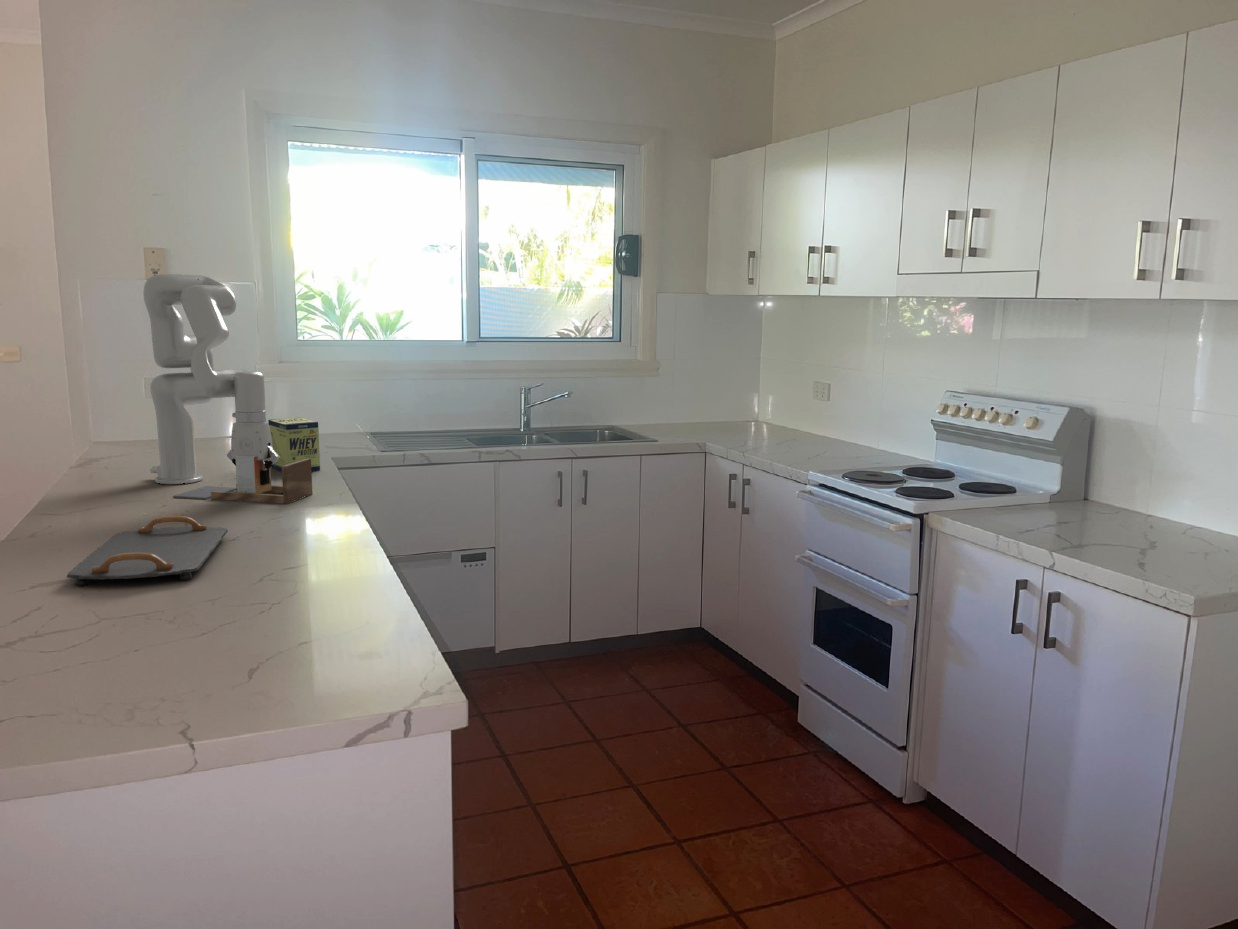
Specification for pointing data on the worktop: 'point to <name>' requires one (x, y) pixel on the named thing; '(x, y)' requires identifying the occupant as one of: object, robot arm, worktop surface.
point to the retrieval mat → (203, 492)
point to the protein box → (295, 441)
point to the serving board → (151, 552)
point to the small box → (250, 475)
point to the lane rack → (293, 488)
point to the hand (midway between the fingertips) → (254, 482)
